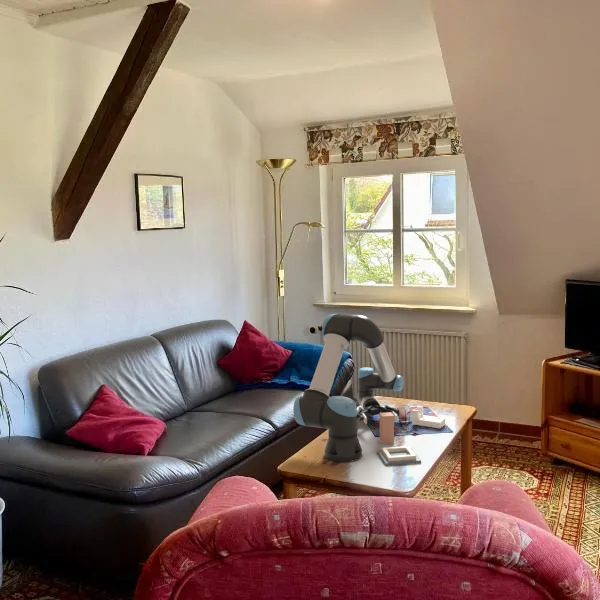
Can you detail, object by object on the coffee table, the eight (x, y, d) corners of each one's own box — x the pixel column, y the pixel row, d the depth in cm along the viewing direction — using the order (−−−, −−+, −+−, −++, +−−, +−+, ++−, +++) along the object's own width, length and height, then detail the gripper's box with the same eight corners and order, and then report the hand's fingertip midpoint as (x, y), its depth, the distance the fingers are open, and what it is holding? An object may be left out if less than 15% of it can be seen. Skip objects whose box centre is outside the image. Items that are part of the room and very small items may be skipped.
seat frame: (385, 465, 257) (385, 459, 257) (377, 452, 271) (377, 446, 270) (421, 462, 259) (420, 456, 258) (410, 450, 272) (410, 444, 272)
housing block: (382, 444, 281) (382, 416, 279) (379, 440, 286) (379, 412, 284) (394, 443, 281) (393, 415, 280) (391, 439, 286) (390, 412, 284)
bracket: (412, 426, 303) (412, 410, 302) (417, 421, 309) (417, 405, 308) (439, 430, 296) (439, 413, 295) (445, 425, 302) (445, 409, 301)
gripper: (396, 411, 315) (409, 426, 294) (344, 415, 312) (353, 430, 291) (396, 396, 314) (409, 409, 293) (344, 399, 311) (353, 413, 290)
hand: (381, 419), depth 292 cm, fingers open, 13 cm apart
